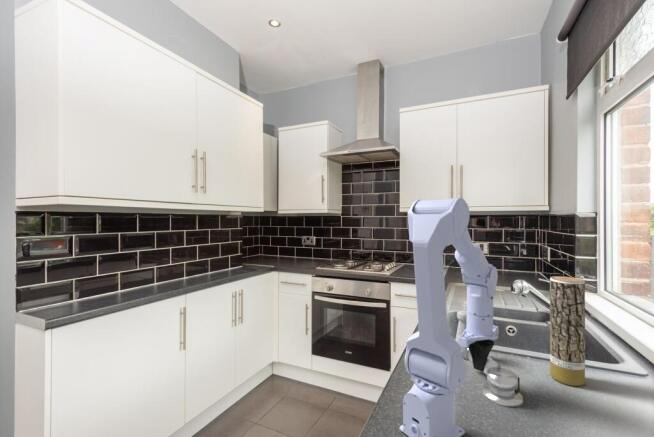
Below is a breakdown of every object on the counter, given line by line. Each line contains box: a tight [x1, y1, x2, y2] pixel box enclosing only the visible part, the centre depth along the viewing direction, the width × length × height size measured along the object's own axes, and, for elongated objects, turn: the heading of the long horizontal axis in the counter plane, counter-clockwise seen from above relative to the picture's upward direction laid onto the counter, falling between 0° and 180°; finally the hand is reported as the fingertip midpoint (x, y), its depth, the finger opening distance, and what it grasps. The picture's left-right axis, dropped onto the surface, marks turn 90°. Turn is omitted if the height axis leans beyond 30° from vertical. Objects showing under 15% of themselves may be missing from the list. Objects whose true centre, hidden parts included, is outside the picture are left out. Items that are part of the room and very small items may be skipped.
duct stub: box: [481, 376, 524, 408], centre depth 70 cm, size 9×8×4 cm
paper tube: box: [549, 275, 586, 387], centre depth 76 cm, size 7×7×25 cm
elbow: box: [465, 348, 519, 391], centre depth 74 cm, size 15×6×4 cm, turn 6°
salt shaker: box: [454, 309, 468, 360], centre depth 90 cm, size 6×6×13 cm
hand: (479, 369), depth 74 cm, fingers closed, pressing on elbow
